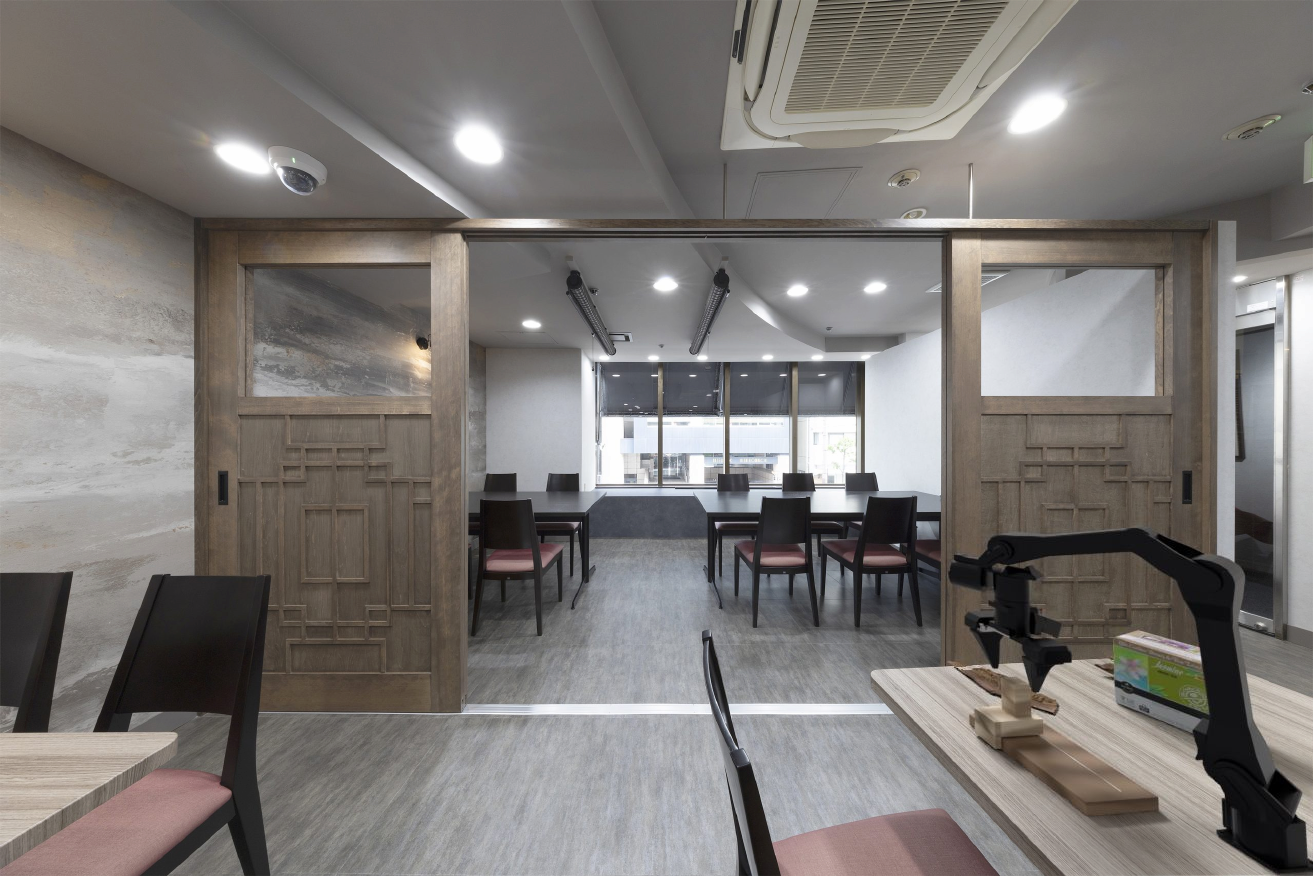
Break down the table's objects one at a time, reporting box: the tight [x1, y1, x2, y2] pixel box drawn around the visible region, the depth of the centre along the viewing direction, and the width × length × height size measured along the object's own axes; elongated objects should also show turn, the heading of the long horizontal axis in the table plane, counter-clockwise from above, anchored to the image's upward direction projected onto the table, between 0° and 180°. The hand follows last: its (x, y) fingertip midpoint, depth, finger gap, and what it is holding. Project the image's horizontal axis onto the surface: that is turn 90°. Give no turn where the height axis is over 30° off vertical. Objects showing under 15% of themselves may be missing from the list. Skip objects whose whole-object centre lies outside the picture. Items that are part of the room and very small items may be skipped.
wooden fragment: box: [945, 660, 1059, 716], centre depth 110 cm, size 26×11×1 cm, turn 13°
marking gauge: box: [973, 676, 1044, 750], centre depth 89 cm, size 5×10×11 cm, turn 94°
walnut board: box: [968, 713, 1160, 817], centre depth 83 cm, size 24×12×2 cm, turn 4°
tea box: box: [1112, 629, 1210, 735], centre depth 96 cm, size 15×10×15 cm, turn 21°
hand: (1014, 679), depth 90 cm, fingers open, 9 cm apart
